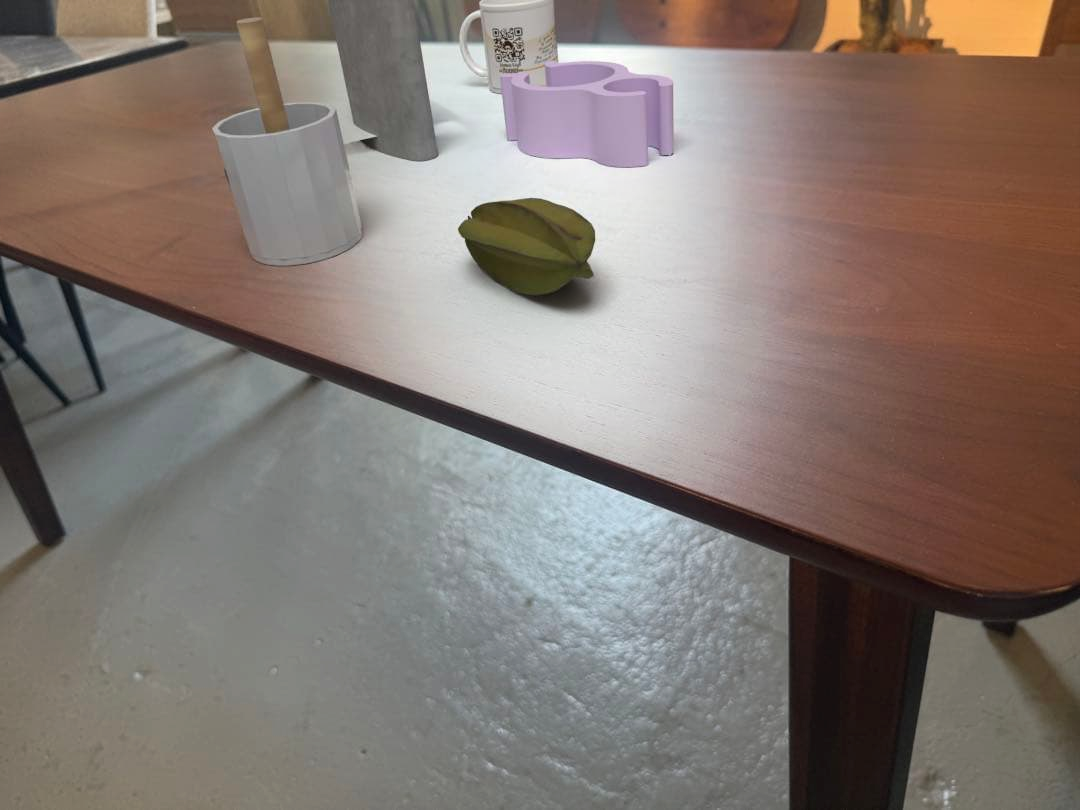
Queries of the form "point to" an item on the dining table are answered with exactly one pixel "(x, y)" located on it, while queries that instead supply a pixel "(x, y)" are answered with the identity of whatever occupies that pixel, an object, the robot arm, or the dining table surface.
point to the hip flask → (385, 75)
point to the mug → (513, 39)
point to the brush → (263, 74)
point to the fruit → (529, 244)
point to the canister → (290, 184)
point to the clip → (590, 113)
